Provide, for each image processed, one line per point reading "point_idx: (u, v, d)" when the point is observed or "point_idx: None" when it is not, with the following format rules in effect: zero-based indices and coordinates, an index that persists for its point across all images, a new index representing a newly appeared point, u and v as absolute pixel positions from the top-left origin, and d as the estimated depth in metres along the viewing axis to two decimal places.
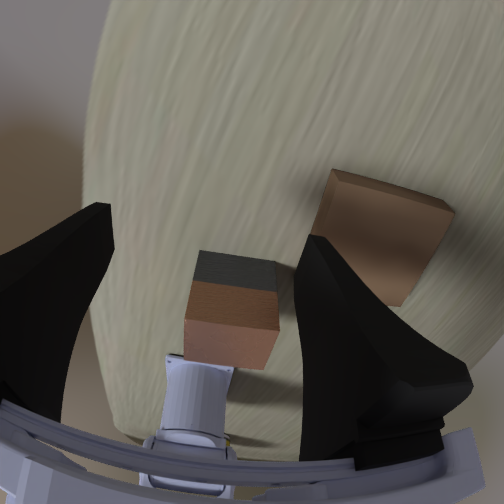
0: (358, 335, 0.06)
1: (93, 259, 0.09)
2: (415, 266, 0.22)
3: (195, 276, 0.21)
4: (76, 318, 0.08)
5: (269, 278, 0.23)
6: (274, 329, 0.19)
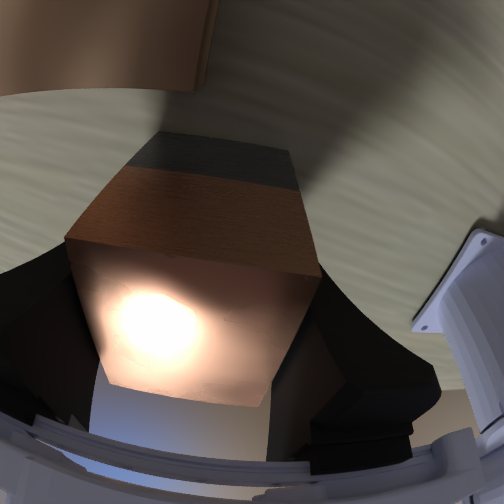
0: (314, 332, 0.06)
1: None
2: None
3: None
4: None
5: None
6: (69, 248, 0.05)
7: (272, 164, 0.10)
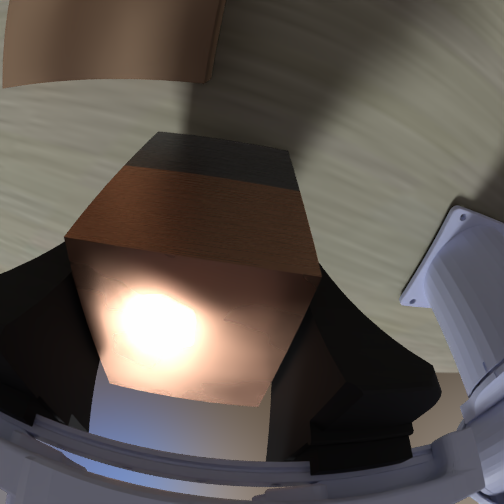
0: (314, 332, 0.06)
1: None
2: None
3: None
4: None
5: None
6: (69, 247, 0.05)
7: (272, 164, 0.10)
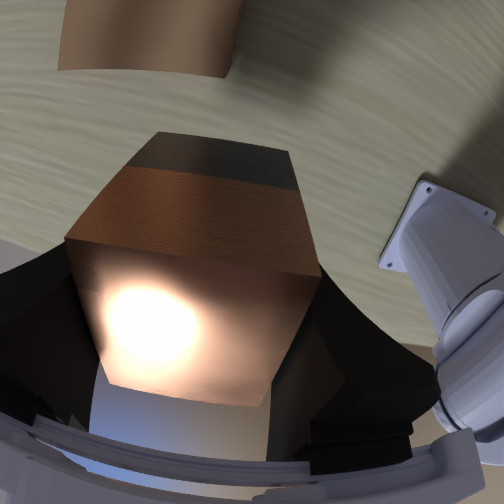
0: (314, 332, 0.06)
1: None
2: None
3: None
4: None
5: None
6: (69, 248, 0.05)
7: (272, 164, 0.10)
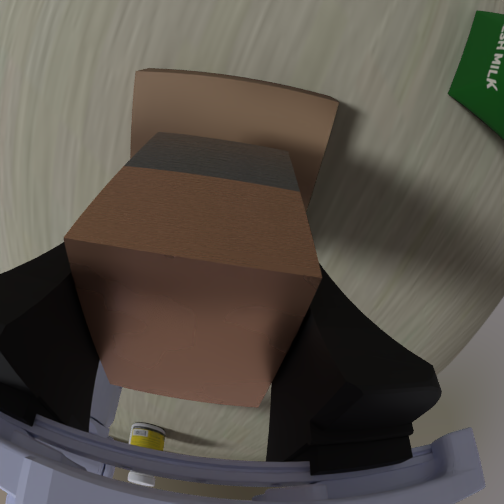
0: (314, 332, 0.06)
1: None
2: None
3: None
4: None
5: None
6: (68, 248, 0.05)
7: (272, 164, 0.10)
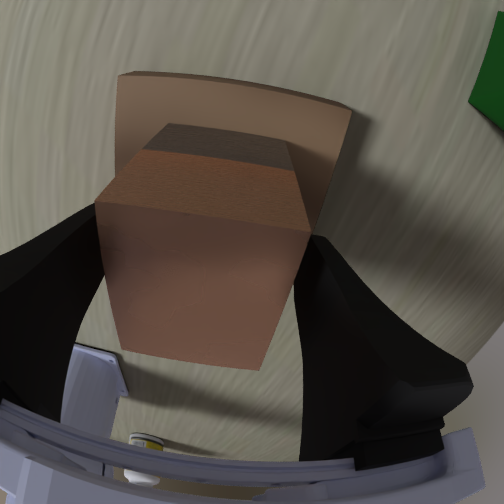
0: (358, 335, 0.06)
1: (93, 259, 0.09)
2: None
3: None
4: (76, 318, 0.08)
5: None
6: (97, 211, 0.07)
7: (270, 150, 0.11)
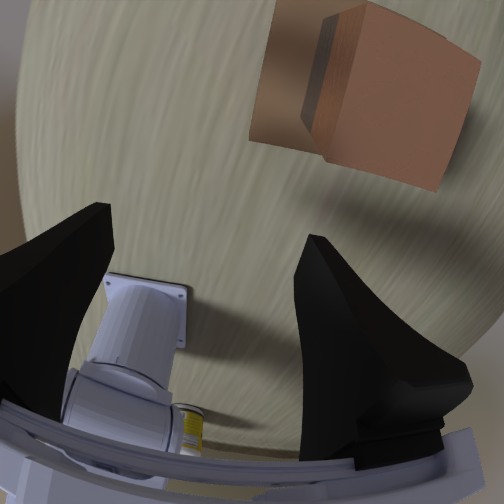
0: (358, 335, 0.06)
1: (93, 259, 0.09)
2: None
3: (309, 129, 0.13)
4: (76, 318, 0.08)
5: (330, 24, 0.11)
6: (364, 11, 0.07)
7: None
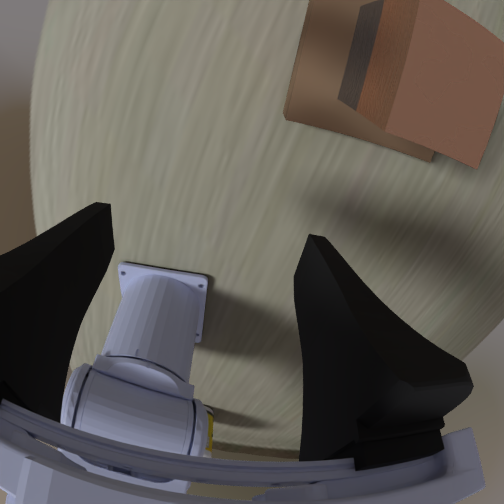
0: (358, 335, 0.06)
1: (93, 259, 0.09)
2: None
3: (354, 106, 0.12)
4: (76, 318, 0.08)
5: (372, 9, 0.10)
6: None
7: None
